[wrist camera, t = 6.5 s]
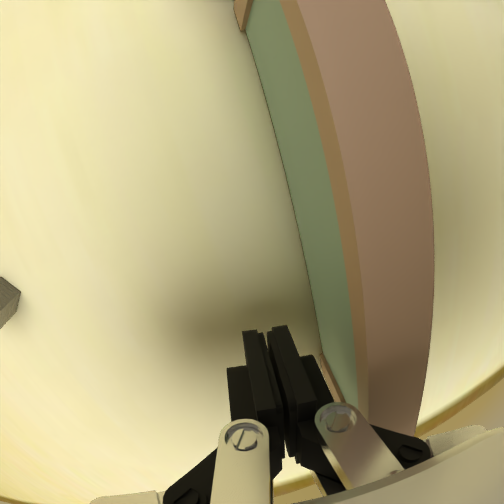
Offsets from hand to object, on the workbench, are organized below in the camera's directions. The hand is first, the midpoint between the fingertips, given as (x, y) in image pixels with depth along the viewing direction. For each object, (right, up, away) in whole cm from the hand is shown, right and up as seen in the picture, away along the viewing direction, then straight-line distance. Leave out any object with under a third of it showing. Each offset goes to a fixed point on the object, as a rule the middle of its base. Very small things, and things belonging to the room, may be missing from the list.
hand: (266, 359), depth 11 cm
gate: (+2, +6, +2) cm, 7 cm away
